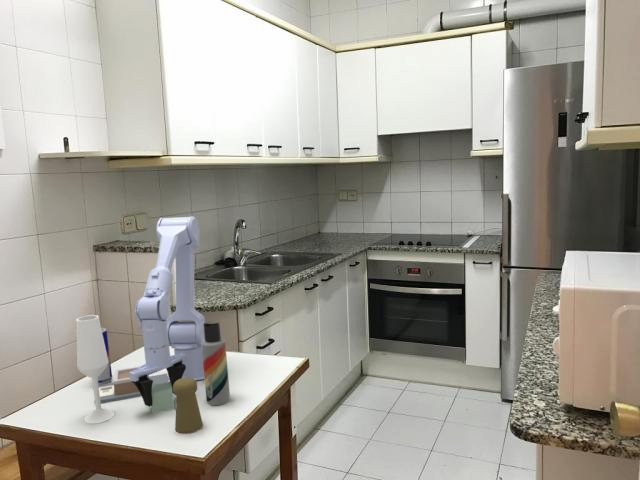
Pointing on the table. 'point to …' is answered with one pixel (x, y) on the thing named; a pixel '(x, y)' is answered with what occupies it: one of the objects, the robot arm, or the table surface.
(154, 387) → the sage block
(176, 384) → the cork
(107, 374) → the beverage can
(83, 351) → the champagne flute
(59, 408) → the table surface
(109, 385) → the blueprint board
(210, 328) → the lotion bottle
